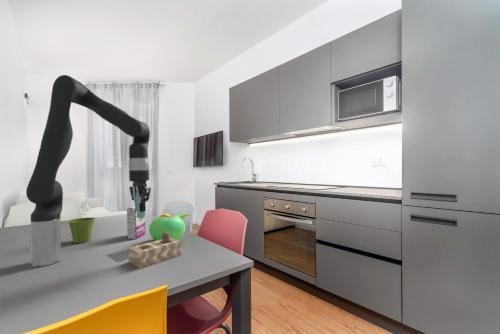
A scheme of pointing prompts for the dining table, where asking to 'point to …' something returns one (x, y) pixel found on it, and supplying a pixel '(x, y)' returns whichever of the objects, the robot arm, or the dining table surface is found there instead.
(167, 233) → the walnut peg
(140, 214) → the teal peg
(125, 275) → the dining table surface
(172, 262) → the dining table surface
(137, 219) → the candy bar box
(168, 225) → the toy bird
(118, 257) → the mat
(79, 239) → the plant pot
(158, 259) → the hole block
